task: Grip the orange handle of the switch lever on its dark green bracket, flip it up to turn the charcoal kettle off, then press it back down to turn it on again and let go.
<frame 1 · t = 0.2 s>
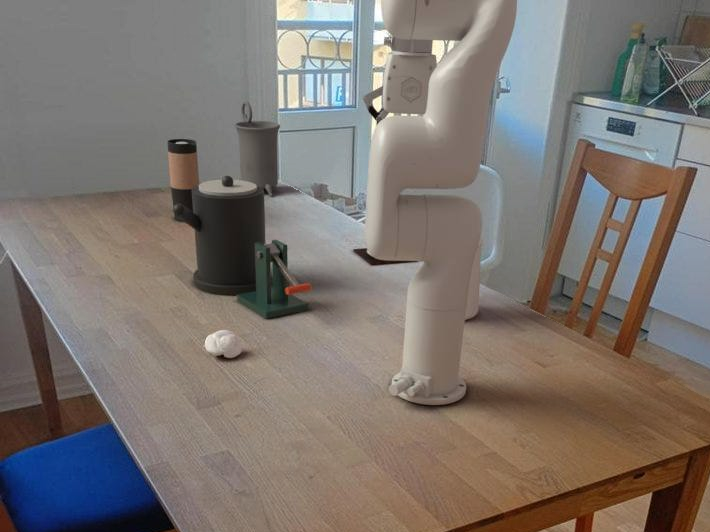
hand: (405, 144, 154), 31 cm above the table, tool pointing down, fingers open, 9 cm apart
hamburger: (384, 256, 196), on the table
dumpling: (223, 356, 142), on the table
switch bracket: (272, 305, 164), on the table
travel mug: (187, 219, 218), on the table
kettle: (232, 282, 175), on the table
grey canister: (258, 191, 250), on the table
coffeepot: (451, 314, 164), on the table
switch lever: (283, 269, 156), point 9 cm above the table, hinge at -24.0°
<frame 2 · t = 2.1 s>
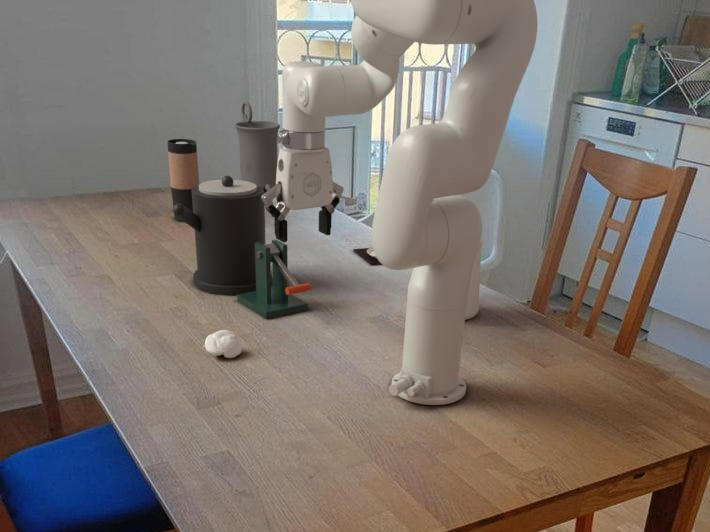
hand: (303, 236, 149), 16 cm above the table, tool pointing down, fingers open, 9 cm apart
nothing on the table moved.
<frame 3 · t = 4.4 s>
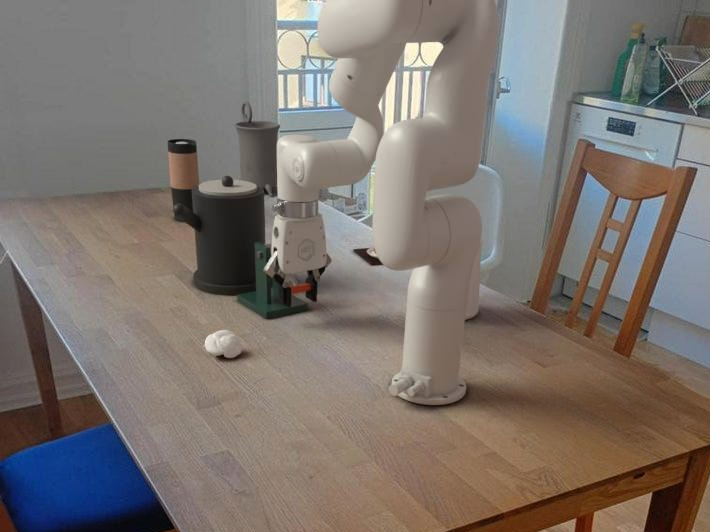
hand: (298, 301, 155), 4 cm above the table, tool pointing down, fingers closed on switch lever, 5 cm apart
switch lever: (283, 269, 156), point 9 cm above the table, hinge at -24.0°, touching gripper
everything else where it was.
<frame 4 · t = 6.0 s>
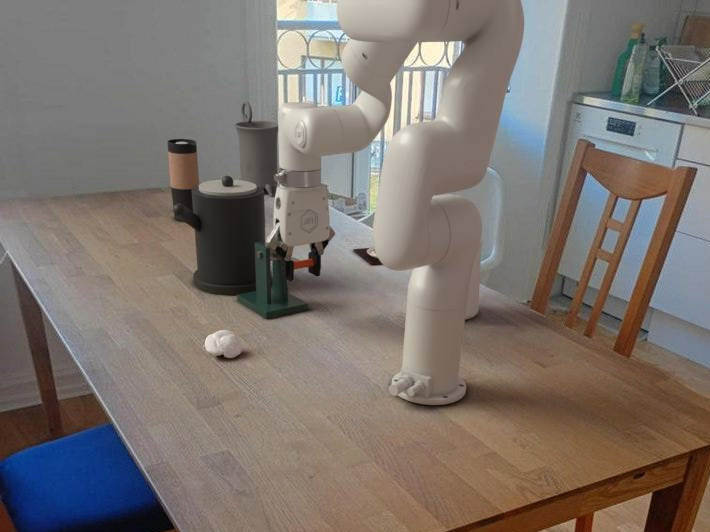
hand: (301, 276, 151), 9 cm above the table, tool pointing down, fingers closed on switch lever, 5 cm apart
switch lever: (284, 258, 154), point 11 cm above the table, hinge at 3.5°, touching gripper
everything else where it was.
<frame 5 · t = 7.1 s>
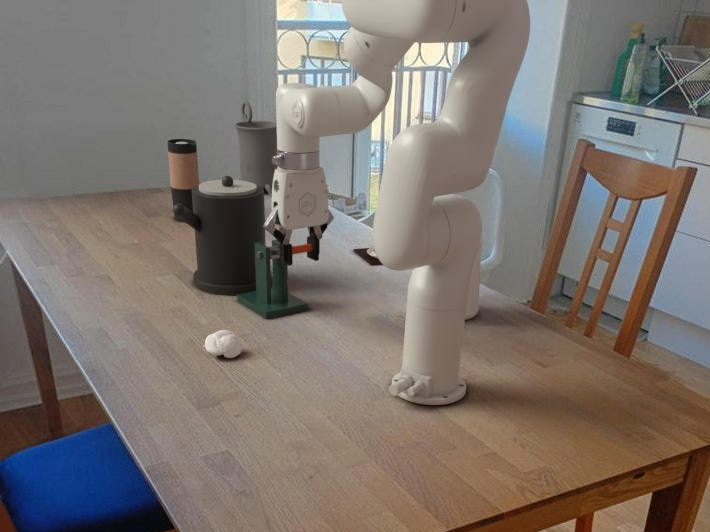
hand: (299, 260, 150), 12 cm above the table, tool pointing down, fingers closed on switch lever, 5 cm apart
switch lever: (284, 251, 154), point 13 cm above the table, hinge at 18.1°, touching gripper
everything else where it was.
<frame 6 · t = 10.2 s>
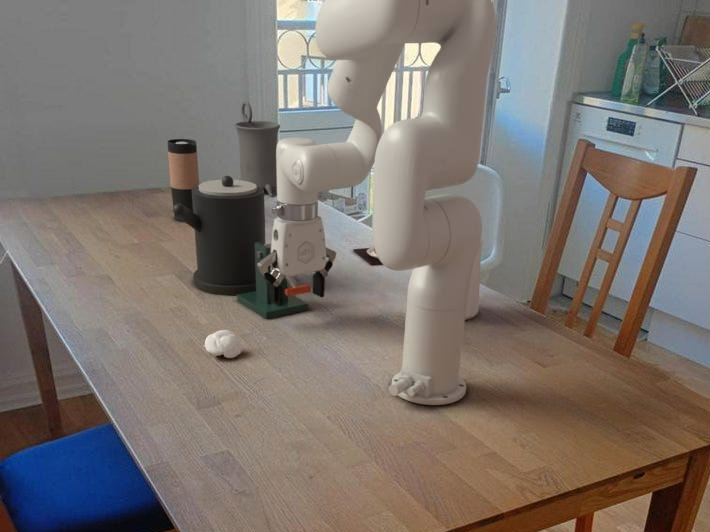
hand: (298, 299, 155), 4 cm above the table, tool pointing down, fingers open, 9 cm apart
switch lever: (283, 270, 156), point 9 cm above the table, hinge at -25.9°
everything else where it was.
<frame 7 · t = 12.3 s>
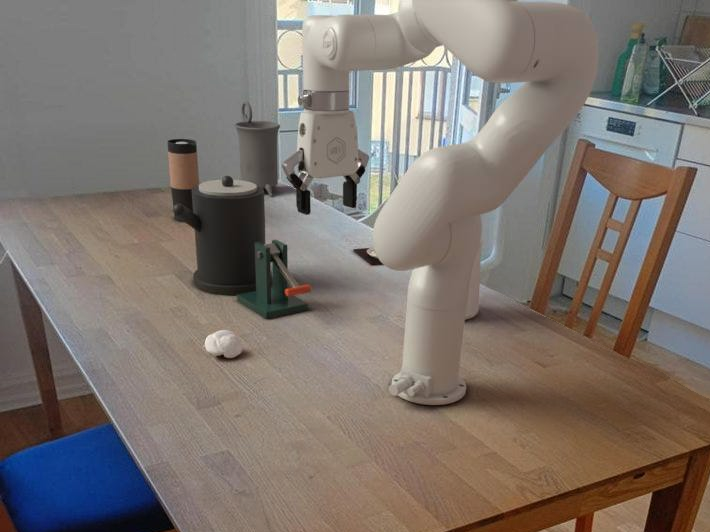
hand: (327, 209, 138), 24 cm above the table, tool pointing down, fingers open, 9 cm apart
nothing on the table moved.
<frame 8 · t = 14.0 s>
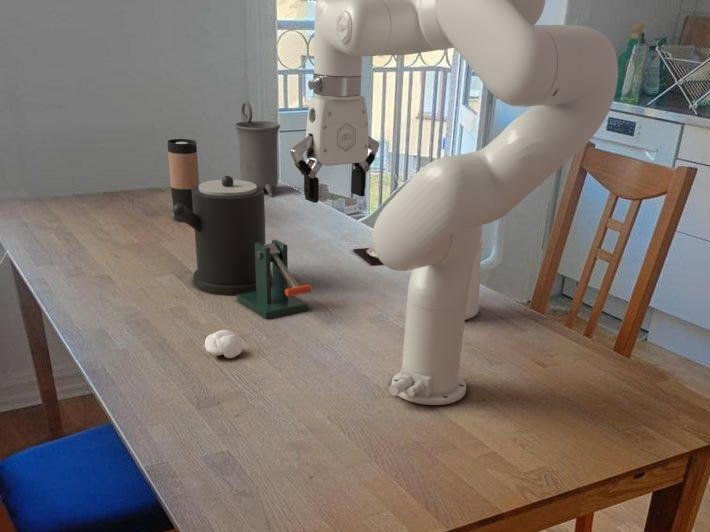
hand: (335, 197, 135), 26 cm above the table, tool pointing down, fingers open, 9 cm apart
nothing on the table moved.
at the end: switch lever reached +18° during the clip, -26° at the end; switch lever at -26° (first picture: -24°) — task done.
